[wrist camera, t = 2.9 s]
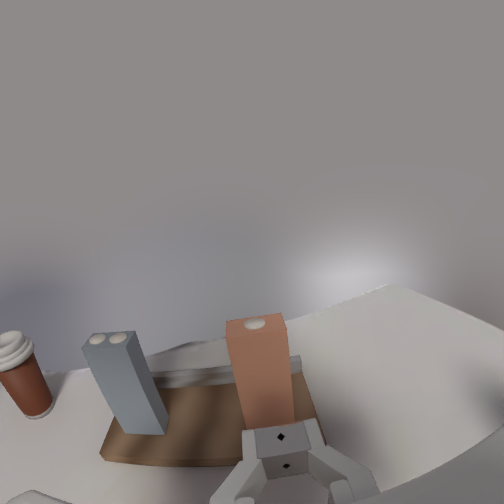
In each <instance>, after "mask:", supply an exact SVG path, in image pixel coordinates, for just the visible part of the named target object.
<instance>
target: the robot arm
mask: <svg viewBox="0 0 504 504" xmlns="http://www.w3.org/2000/svg"><path fill="white" fill-rule="evenodd" d="M242 452H243V461H239V462H238V464H237V465H236V466H235V468H234V469H233V470H232V472H231V473H230V474H229V475H228V477H227V478H226V479H225V480H224V482H223V483H222V484H221V485H220V487H219V488H218V489H217V490H216V492H215V493H214V494H213V495H212V496H211V498H210V504H256V503H255V502H256V500H257V499H258V497H259V495H260V493H261V492H262V490H263V488H264V486H265V485H266V483H267V480H270V479H276V478H281V477H286V476H292V475H298V474H304V473H309V474H310V475H311V476H312V477H314V478H315V479H316V480H317V481H318V482H320V483H321V484H322V485H323V486H325V487H326V488H327V489H328V490H329V497H328V504H504V425H503V426H501V427H500V428H499V429H497V430H496V431H495V432H493V433H492V434H491V435H489V436H488V437H486V438H485V439H484V440H482V441H481V442H479V443H478V444H476V445H475V446H473V447H472V448H470V449H468V450H467V451H465V452H464V453H462V454H460V455H459V456H457V457H455V458H454V459H452V460H450V461H448V462H447V463H445V464H443V465H441V466H439V467H437V468H435V469H434V470H432V471H430V472H428V473H426V474H424V475H422V476H419V477H417V478H415V479H413V480H411V481H409V482H406V483H404V484H402V485H399V486H397V487H395V488H392V489H390V490H387V491H384V492H382V493H380V491H379V489H378V486H377V484H376V482H375V480H374V477H373V475H372V473H371V470H369V469H367V468H366V467H364V466H362V465H360V464H359V463H357V462H355V461H354V460H352V459H350V458H348V457H347V456H345V455H344V454H342V453H340V452H339V451H337V450H335V449H334V448H332V447H331V446H329V445H328V446H325V444H324V441H323V438H322V435H321V432H320V429H319V426H318V423H317V420H316V419H315V418H312V419H308V420H303V421H298V422H293V423H288V424H283V425H279V426H273V427H266V428H258V429H251V430H242ZM6 504H72V503H69V502H66V501H62V500H60V499H57V498H54V497H51V496H48V495H46V494H43V493H41V492H38V491H35V490H29V491H26V492H24V493H22V494H20V495H18V496H16V497H14V498H12V499H11V500H9V501H8V502H7V503H6Z"/></svg>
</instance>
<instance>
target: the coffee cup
mask: <svg viewBox="0 0 504 504" xmlns="http://www.w3.org/2000/svg"><path fill="white" fill-rule="evenodd" d="M34 346H35V345H34V343H33V341H32V340H31V339H30V338H28V337H25V336H24V335H23V333H22V332H21V331H18V330H12V331H8V332H5V333H2V334H0V381H1V383H2V384H3V386H4V387H5V389H6V390H7V392H8V393H9V394H10V396H11V397H12V399H13V400H14V401H15V403H16V404H17V406H18V407H19V408H20V410H21V411H22V412H23V413H24V415H25V416H26V417H27V418H29V419H39V418H42V417H44V416H46V415H47V414H49V413H50V411H51V410H52V409H53V407H54V405H55V403H54V398H53V397H52V395H51V393H50V391H49V388H48V386H47V384H46V382H45V380H44V377H43V375H42V373H41V370H40V368H39V366H38V363H37V361H36V358H35V356H34V353H33V351H34Z"/></svg>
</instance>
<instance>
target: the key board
mask: <svg viewBox="0 0 504 504" xmlns="http://www.w3.org/2000/svg"><path fill="white" fill-rule="evenodd" d="M289 358H290V369H291V380H292V392H293V404H294V417H295V422H298V421H303V420H308V419H312V418H315V419H316V420H317V423H318V426H319V429H320V432H321V435H322V438H323V441H324V444H325V446H326V440H325V437H324V434H323V431H322V428H321V425H320V422H319V419H318V417H317V414H316V411H315V408H314V405H313V402H312V399H311V396H310V393H309V391H308V388H307V385H306V382H305V379H304V376H303V373H302V363H301V358H300V355H297V356H291V357H289ZM150 373H151V376H152V378H153V381H154V383H155V386H156V388H157V390H158V393H159V395H160V398H161V400H162V402H163V404H164V407H165V409H166V411H167V413H168V415H169V420H168V424H167V429H166V433H165V435H146V434H127V433H125V432H124V431H123V429H122V427H121V426H120V424H119V422H118V421H117V419H116V417H115V416H114V418H113V421H112V423H111V425H110V428H109V430H108V433H107V435H106V438H105V440H104V442H103V445H102V447H101V450H100V452H99V453H100V455H101V456H102V457H103V458H104V460H105V461H111V462H119V463H127V464H137V465H150V466H170V467H206V466H226V465H237V464H238V462H239V461H243V452H242V430H247V428H246V424H245V420H244V416H243V412H242V407H241V403H240V399H239V395H238V391H237V386H236V382H235V378H234V373H233V369H232V366H224V367H215V368H205V369H194V370H181V371H166V372H150Z"/></svg>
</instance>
